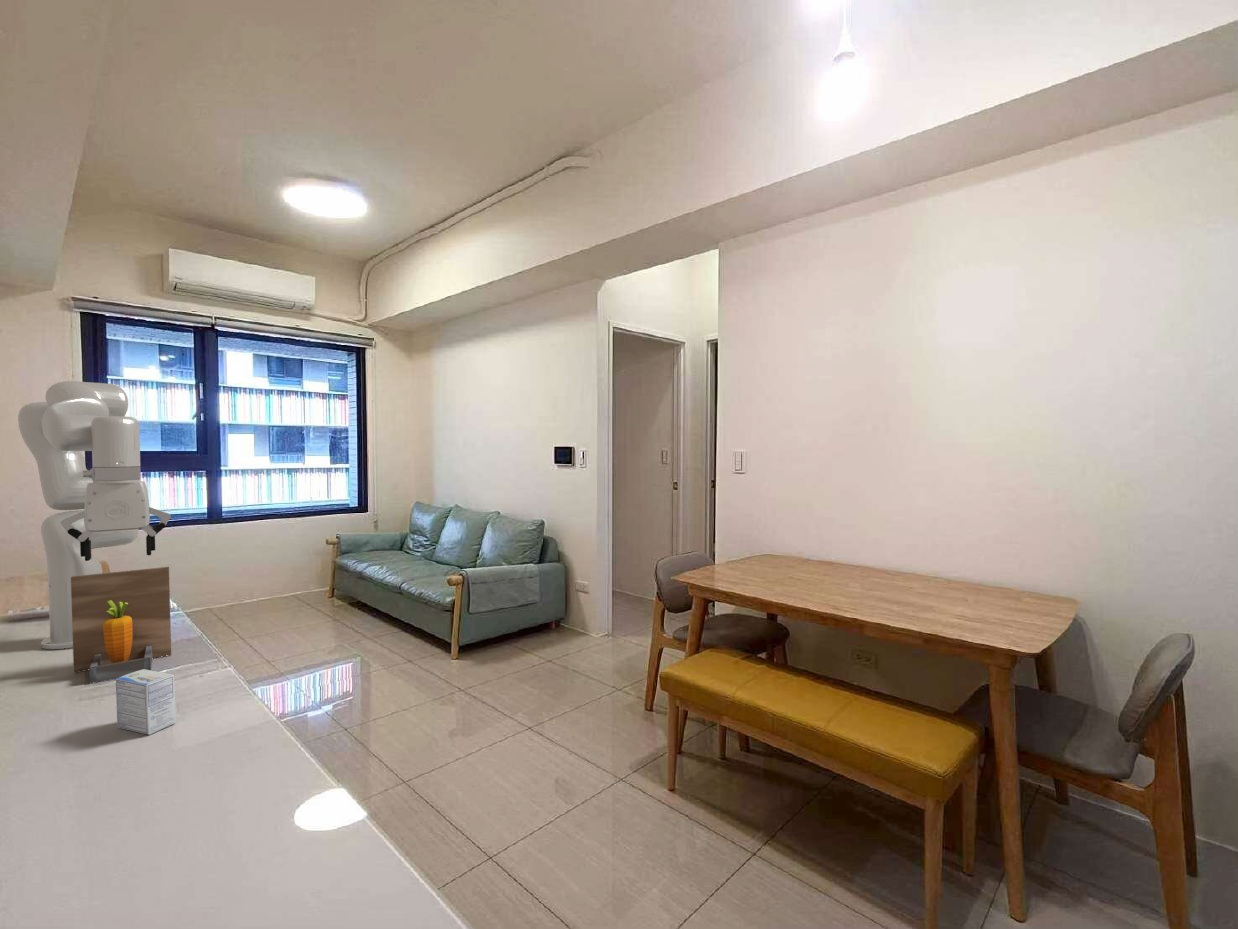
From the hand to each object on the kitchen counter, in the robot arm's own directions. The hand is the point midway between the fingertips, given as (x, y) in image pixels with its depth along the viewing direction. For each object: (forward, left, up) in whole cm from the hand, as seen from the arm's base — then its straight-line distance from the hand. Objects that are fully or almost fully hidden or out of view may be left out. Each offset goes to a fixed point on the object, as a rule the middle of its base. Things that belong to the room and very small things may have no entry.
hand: (119, 557), depth 120 cm
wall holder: (0, 0, -24) cm, 24 cm away
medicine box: (+34, +5, -24) cm, 42 cm away
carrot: (0, 0, -24) cm, 24 cm away
